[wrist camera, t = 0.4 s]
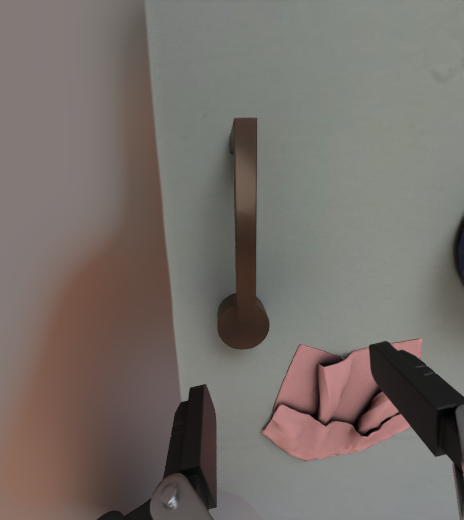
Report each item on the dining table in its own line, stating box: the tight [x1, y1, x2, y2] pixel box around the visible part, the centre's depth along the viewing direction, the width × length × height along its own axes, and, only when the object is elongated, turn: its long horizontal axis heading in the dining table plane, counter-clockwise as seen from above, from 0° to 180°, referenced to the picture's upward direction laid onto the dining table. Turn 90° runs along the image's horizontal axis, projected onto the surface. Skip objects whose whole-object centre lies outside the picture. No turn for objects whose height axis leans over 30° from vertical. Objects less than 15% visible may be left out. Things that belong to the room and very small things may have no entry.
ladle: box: [218, 118, 269, 349], centre depth 22 cm, size 21×5×6 cm, turn 1°
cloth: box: [262, 339, 422, 461], centre depth 30 cm, size 20×22×2 cm
